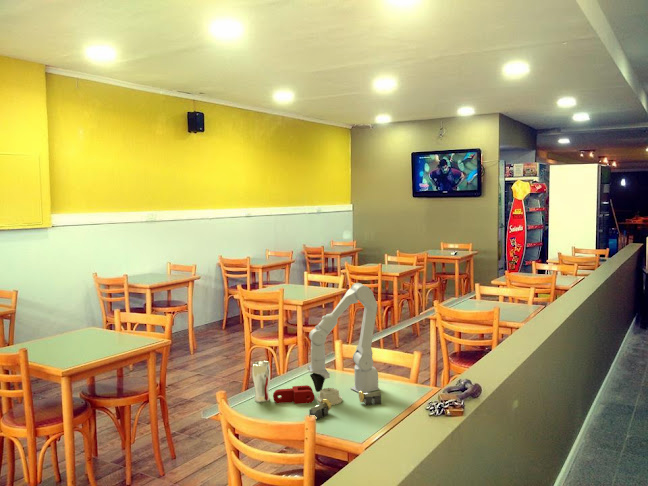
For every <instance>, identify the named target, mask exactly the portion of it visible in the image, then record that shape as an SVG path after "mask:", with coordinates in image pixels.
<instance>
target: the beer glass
mask: <svg viewBox="0 0 648 486" xmlns="http://www.w3.org/2000/svg"><path fill="white" fill-rule="evenodd" d="M270 380H271V366H270V362H269V361H267V360H258V361H254V362H253V363H252V381H253V385H254V390H255V391H254V392H255V394H254V401H255V402H257V403H267V402H269V401H270V400H271V397H270V391H269V389H270V382H271V381H270Z"/></svg>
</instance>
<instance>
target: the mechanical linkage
mask: <svg viewBox="0 0 648 486" xmlns="http://www.w3.org/2000/svg"><path fill="white" fill-rule="evenodd" d="M279 396H280V397H279ZM315 397H316V396H315V394H314V391H313V388H312V387H311V386H310V385H308V384H307V385H294V386H292V388H282V389H281V388H280V389H276V390H275V391H274V392H273V394H272V398H273V401H274V403H276V404H285V403H286V404H288V403H293V404H294V405H302V404H303V405H304V404H312V403H313V402H314V401H315Z"/></svg>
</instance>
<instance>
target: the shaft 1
mask: <svg viewBox="0 0 648 486" xmlns="http://www.w3.org/2000/svg"><path fill="white" fill-rule="evenodd" d="M331 409H332V405H331V402H330V401H329V400H328V399H323V400H322V401H321V404H319V403H318V404H317V405H315V406H313V407H311V408H310V409H309V411H308V412H309V415H308V416H310V415H315V416H316V417H317V420H316V421H319V420H321V419H323V418H325V417H328V416H329V411H330V410H331Z"/></svg>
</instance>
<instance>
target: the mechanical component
mask: <svg viewBox="0 0 648 486" xmlns="http://www.w3.org/2000/svg"><path fill="white" fill-rule="evenodd" d="M339 391H340V390H338V389H337V388H334V387H326V388H322V390H320V392H319V395H318V396H317V397H316V402H317V403H318V405H319V404H321V401H322V400H323V399H328V400H329V401H330V402H331V406H336V405H339V404H341V403H342V402H343V397H342V395H340V392H339ZM335 404H336V405H335Z"/></svg>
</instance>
